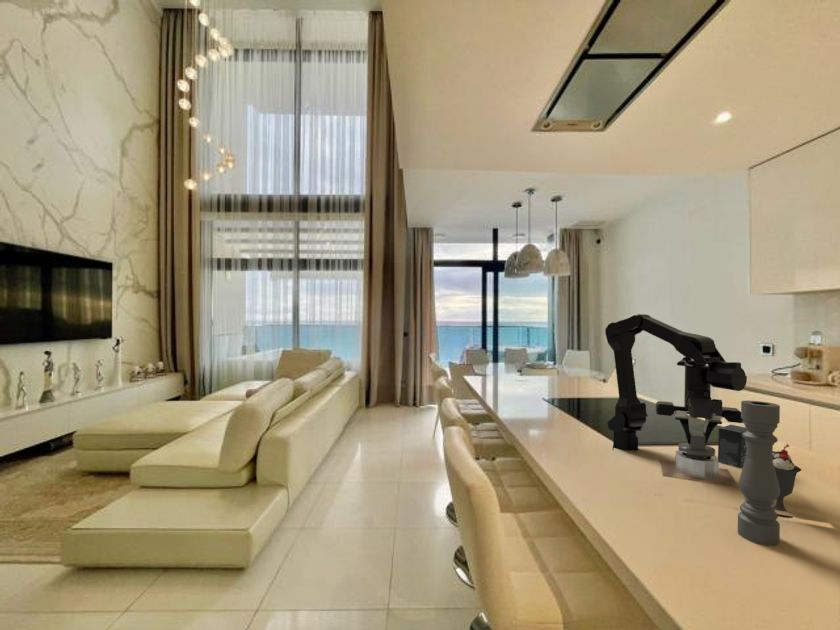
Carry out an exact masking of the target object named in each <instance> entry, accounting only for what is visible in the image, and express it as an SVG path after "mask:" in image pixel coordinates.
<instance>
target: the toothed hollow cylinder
mask: <svg viewBox="0 0 840 630" xmlns="http://www.w3.org/2000/svg"><path fill="white" fill-rule="evenodd" d="M674 457H675V461H674V462H675V469H676V471H677V472H679V473H681V474H683V475H686V476H689V477H693V478H699V479H716V478H718V468H720V467H719V464H720V463H719V459H718V456H716V455H715V456H711V457H707V459H695V458H691V457H687V456H686V453H684V452H681V451H680V450H679V449H678V450H675V456H674Z"/></svg>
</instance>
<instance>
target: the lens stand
mask: <svg viewBox="0 0 840 630" xmlns="http://www.w3.org/2000/svg"><path fill="white" fill-rule="evenodd" d="M659 465H660V469H661V474H662V477H667V478H673V479H678V480H679V479H680V480H686V481H692V482H699V483H705V484H711V485H717V486H718V485H719V486H722V487H723V486H724V487H731V488H737V489H740V487H739V483H737V481H736V479H735V478H734V477H733V475H732V474H731V472H730V471H729V469H725V468H720V467H719V468H718V478H716V479H699V478H693V477H689V476H686V475H683V474H681V473H679V472H677V471H676V469H675V461H669V460H663V459H662V460H661V459H659Z"/></svg>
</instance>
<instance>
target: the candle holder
mask: <svg viewBox="0 0 840 630" xmlns="http://www.w3.org/2000/svg"><path fill="white" fill-rule="evenodd" d="M740 403H741V404H740V411H741V418H742V419H743V423H742V424H744V427H745V428H746V429H747V431H746V432H744V433H742V436H743V437H744V438H745V440H746V441H747V450H746V459H745V462H744V466H743V467H742V470H741V473H740V475H739V479H738V486H739V487H740V488H739V489H740V491H741V494H742V495H743V499H744V500H745V501H744V502H742V504H741V505H739V510H740V512H739V513H738V514H737V533H738V535H739V536H740V537H741V538H743V539H745V540H748V541H750V542H752V543H755V544H758V545H763V546H770V545H771V546H773V547H774V546H779V544H780V542H781V541H780V538H781V537H780V536H781V535H780V534H781V525H780V523H779V521H778V519H779V516H778V515H777V514H778V513H777V512H776V510H775V509H773V507H774V506H775V502H776V499H777V498H778V497H779V495H780V487H779V484H778V480H777V476H776V472H775V469H774V465H773V451H774V450H773V449H774V448H773V446H774V445H775V444H776V443H777V442H778V440H779V439H778V438H777V437H776V435H774V432H775V431H776V430H777V429H778V425H779V424H780V423H781V422H780V416H781V413H780V412H781V405H779V404H777V403H773V402H768V401H767V402H766V401H760V400H741V402H740Z"/></svg>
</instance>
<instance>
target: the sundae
mask: <svg viewBox="0 0 840 630" xmlns="http://www.w3.org/2000/svg"><path fill="white" fill-rule="evenodd" d="M786 448H790V445H789V444H788V443H786V445H785V446H784V447H783V449H781V450H780V451H779V450H778V451H775V450H773V465H774V469H775V472H776V476H777V480H778V484H779V487H780V495H779V497H778V498H777V499H776V500H775V503H774V505H773V506H772V507H773V509H774V510H775V511H779V512H787V511H788V510H787V509H786V507H785V504H784V499H785V497H788V496H790V495H791V494H792V493H793V490H794V488H795V487H794V486H795V482H796V477H797V474H798V473H800V472H801V471H802V468H800V467H799V466H797V465H796V464H795V463H794V462H793V460H792V458H791V456H790V454H789V452H788V450H786ZM777 515H778V517H780V518H786V519H792V518H794V516H791V515H786V514H780V513H777Z"/></svg>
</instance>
